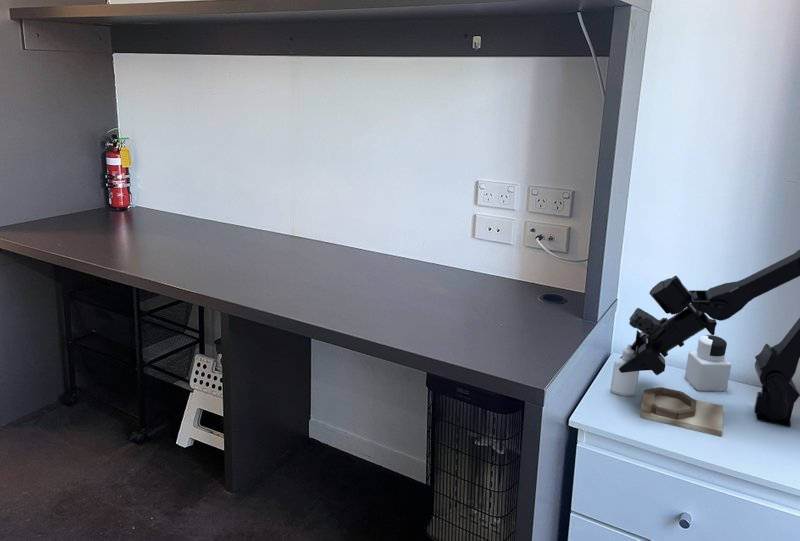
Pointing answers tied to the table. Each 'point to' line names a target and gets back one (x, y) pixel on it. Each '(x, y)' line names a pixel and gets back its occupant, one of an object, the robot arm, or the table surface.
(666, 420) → the board
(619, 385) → the eye dropper bottle
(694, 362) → the medicine bottle
